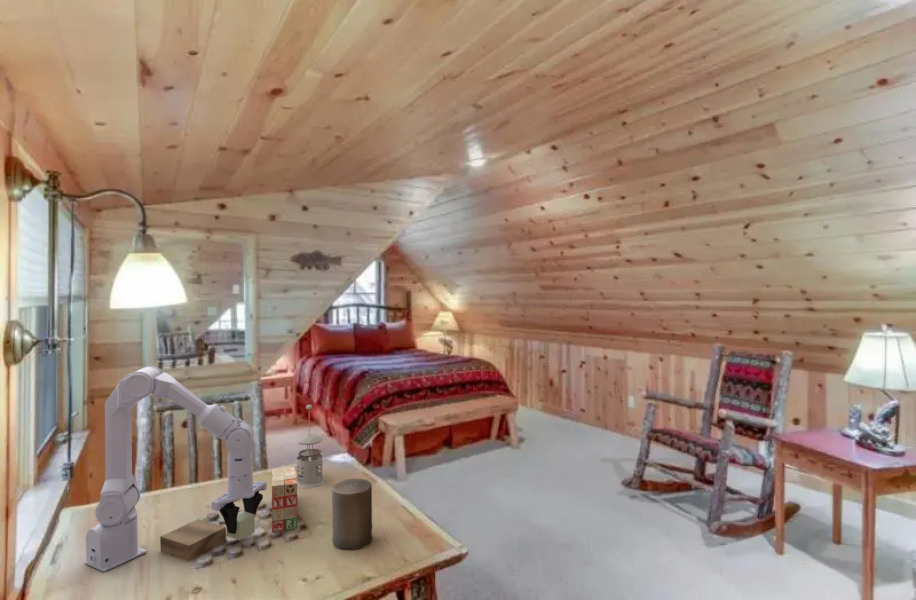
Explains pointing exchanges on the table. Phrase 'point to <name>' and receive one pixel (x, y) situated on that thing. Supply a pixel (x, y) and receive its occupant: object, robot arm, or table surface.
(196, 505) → the table surface
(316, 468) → the french press
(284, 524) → the stack of blocks
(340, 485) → the pillar candle
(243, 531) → the sage cube
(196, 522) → the walnut block
